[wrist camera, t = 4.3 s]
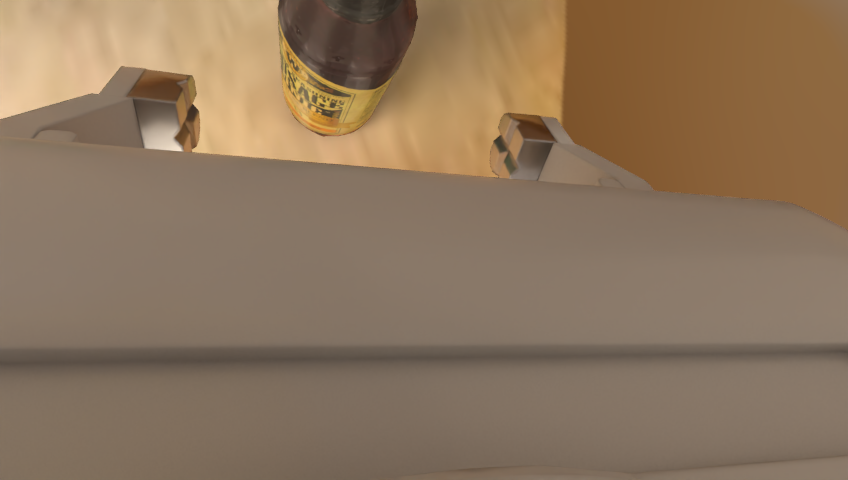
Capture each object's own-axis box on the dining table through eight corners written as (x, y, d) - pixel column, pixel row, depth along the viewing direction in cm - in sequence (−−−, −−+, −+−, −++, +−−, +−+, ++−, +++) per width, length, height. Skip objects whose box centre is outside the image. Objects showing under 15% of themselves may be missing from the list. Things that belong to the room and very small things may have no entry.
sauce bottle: (265, 83, 32) (203, -184, 13) (340, 38, 33) (386, -264, 14) (322, 162, 33) (346, 22, 14) (394, 115, 34) (507, -73, 15)
